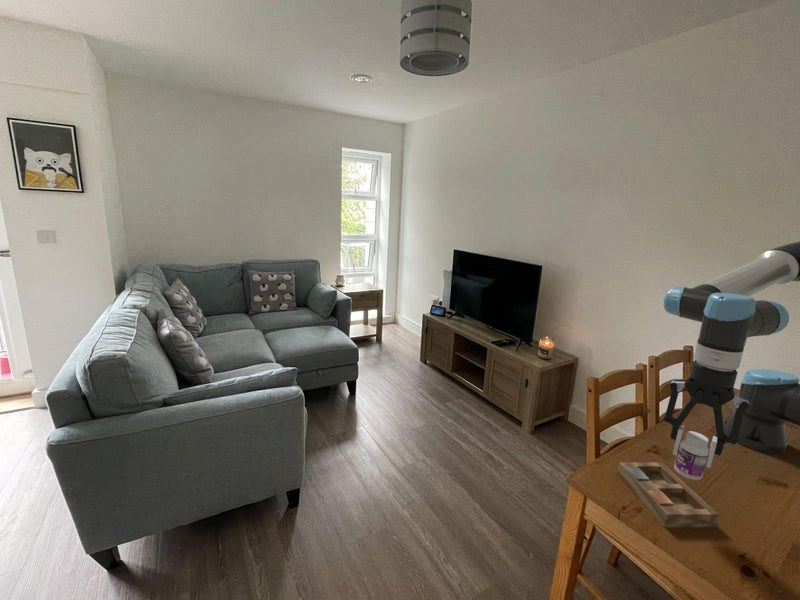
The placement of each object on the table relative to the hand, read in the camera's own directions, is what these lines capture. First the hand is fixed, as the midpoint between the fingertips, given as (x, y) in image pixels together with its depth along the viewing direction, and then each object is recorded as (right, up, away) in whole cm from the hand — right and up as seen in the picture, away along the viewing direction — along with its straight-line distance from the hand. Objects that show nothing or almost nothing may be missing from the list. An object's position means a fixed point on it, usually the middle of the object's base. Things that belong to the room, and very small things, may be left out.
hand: (691, 458), depth 84 cm
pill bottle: (-1, -4, +1) cm, 4 cm away
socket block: (-2, -13, +7) cm, 15 cm away
